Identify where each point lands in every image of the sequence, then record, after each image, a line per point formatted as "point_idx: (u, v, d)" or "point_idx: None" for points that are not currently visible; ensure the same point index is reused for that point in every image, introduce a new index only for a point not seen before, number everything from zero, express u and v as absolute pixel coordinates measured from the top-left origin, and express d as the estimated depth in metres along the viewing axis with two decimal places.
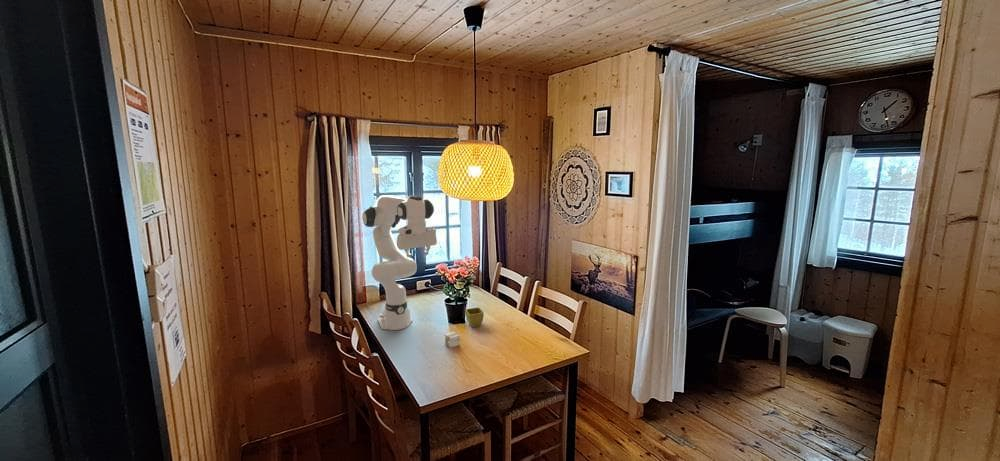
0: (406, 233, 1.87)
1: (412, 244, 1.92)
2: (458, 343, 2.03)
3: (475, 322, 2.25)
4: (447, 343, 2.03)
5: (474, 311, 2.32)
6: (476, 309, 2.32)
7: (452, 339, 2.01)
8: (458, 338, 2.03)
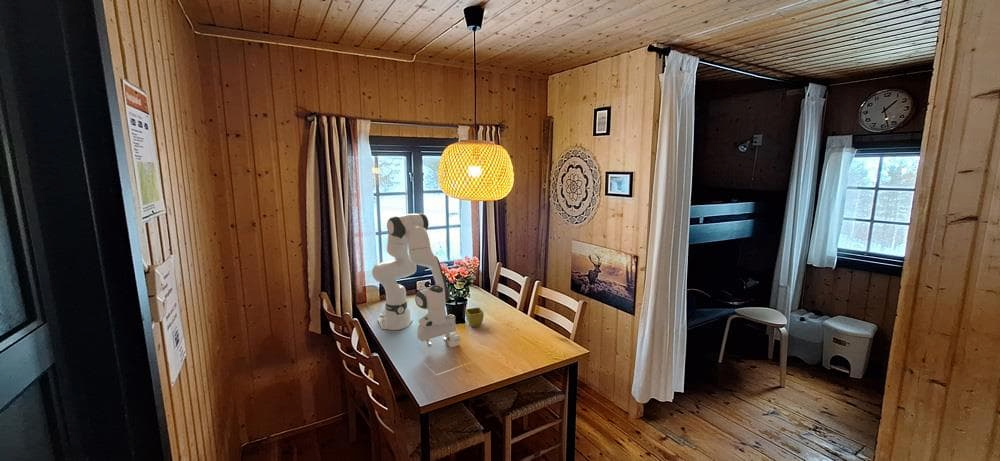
0: (427, 325, 1.90)
1: (432, 334, 1.94)
2: (458, 343, 2.03)
3: (475, 322, 2.25)
4: (447, 343, 2.03)
5: (474, 311, 2.32)
6: (476, 309, 2.32)
7: (452, 339, 2.01)
8: (458, 338, 2.03)
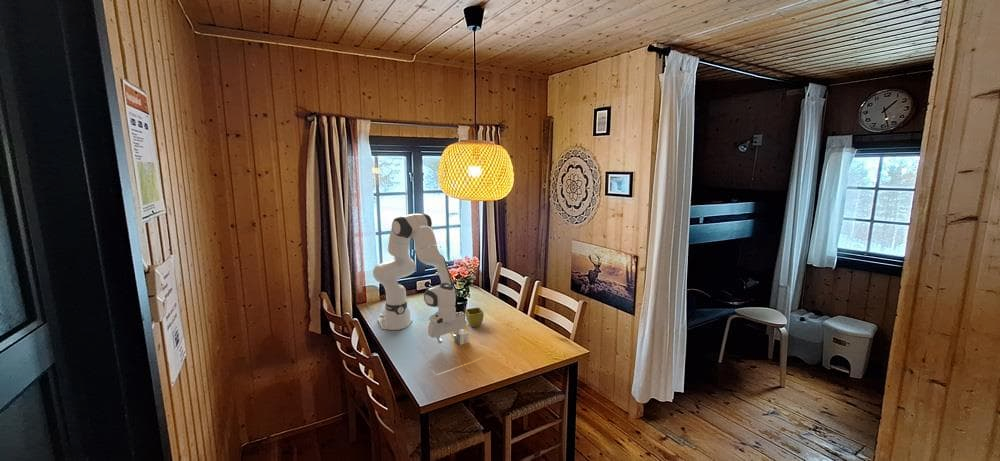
0: (438, 322, 1.93)
1: (443, 331, 1.98)
2: (461, 343, 2.05)
3: (475, 322, 2.25)
4: None
5: (474, 311, 2.32)
6: (476, 309, 2.32)
7: (466, 335, 2.06)
8: (466, 341, 2.06)
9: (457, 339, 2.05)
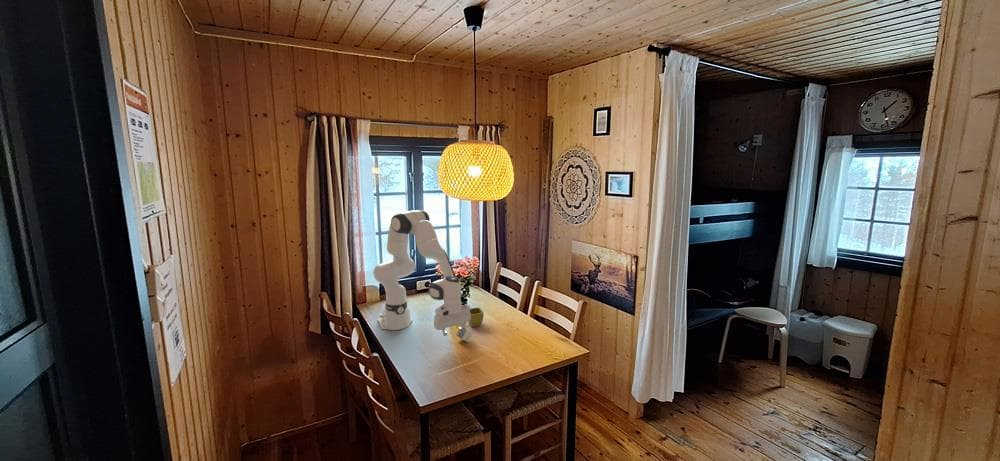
0: (443, 315, 1.95)
1: (448, 324, 1.99)
2: (463, 338, 2.05)
3: (475, 322, 2.25)
4: (465, 328, 2.08)
5: (474, 311, 2.32)
6: (476, 309, 2.32)
7: (471, 334, 2.07)
8: (467, 340, 2.06)
9: (461, 333, 2.06)
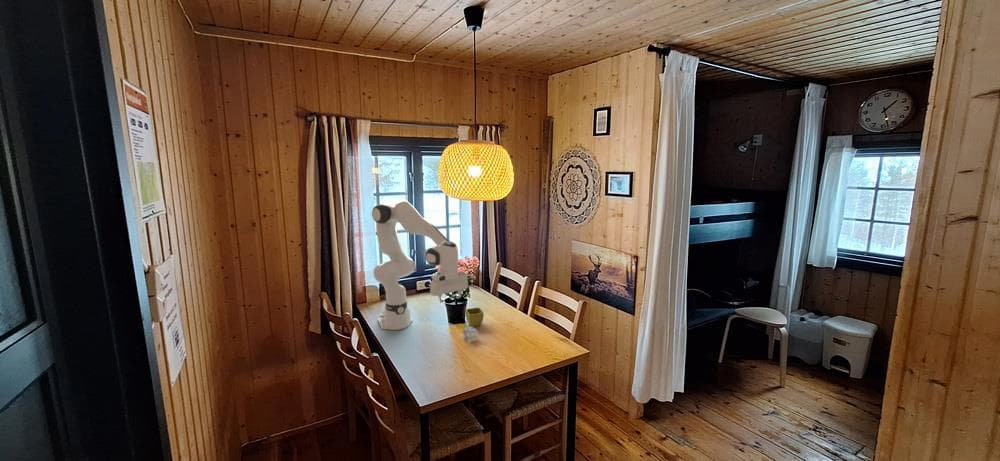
0: (440, 280, 1.90)
1: (445, 290, 1.95)
2: (469, 334, 2.07)
3: (475, 322, 2.25)
4: None
5: (474, 311, 2.32)
6: (476, 309, 2.32)
7: (475, 338, 2.10)
8: (469, 339, 2.07)
9: (470, 330, 2.09)
